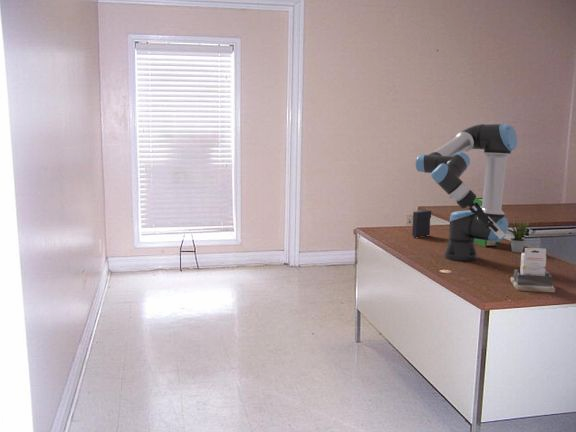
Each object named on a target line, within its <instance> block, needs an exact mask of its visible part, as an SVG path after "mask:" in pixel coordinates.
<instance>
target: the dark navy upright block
mask: <svg viewBox="0 0 576 432" xmlns="http://www.w3.org/2000/svg"><path fill="white" fill-rule="evenodd" d="M431 218H432V210H427V209H426V210H419V211H413V212H412V232H411V233H412V234H411V235H412V236H414V237H420V238H422V237H421V236H426V237H428V236H427V235H429V236H430V234H431V233H430V230H431V229H430V228H431ZM414 237H413V238H414Z"/></svg>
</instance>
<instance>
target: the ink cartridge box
mask: <svg viewBox="0 0 576 432" xmlns="http://www.w3.org/2000/svg"><path fill="white" fill-rule="evenodd" d="M535 251H536V252H535ZM546 266H547V249H546V248H540V247H539V248H538V247H525V248H524V252H521V255H520V269H519V270H520V275H537V276H545V271H546Z"/></svg>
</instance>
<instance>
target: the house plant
mask: <svg viewBox="0 0 576 432" xmlns="http://www.w3.org/2000/svg"><path fill="white" fill-rule="evenodd" d="M512 223H513V224H514V226H513V225H512V224H510V223H508V226H510V227H511V229H509V228H508V230H507V233H506V235H508V233H509V234H510V235H511V236H512V238H510V245H511V246H510V247H511V252H513V253H524V249H525V248H524V247H525V244H526V239H524V238H523V237H524V236H526V235H529V233H527V232H528V231H526V230H527V229H528V228H529V227H530V225H531V224H530V221H528V222H527V221H526V222H523V223H522V222H521V220H520V221H519V223H517V222H516V220H513V221H512ZM521 223H522V224H521Z"/></svg>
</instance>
